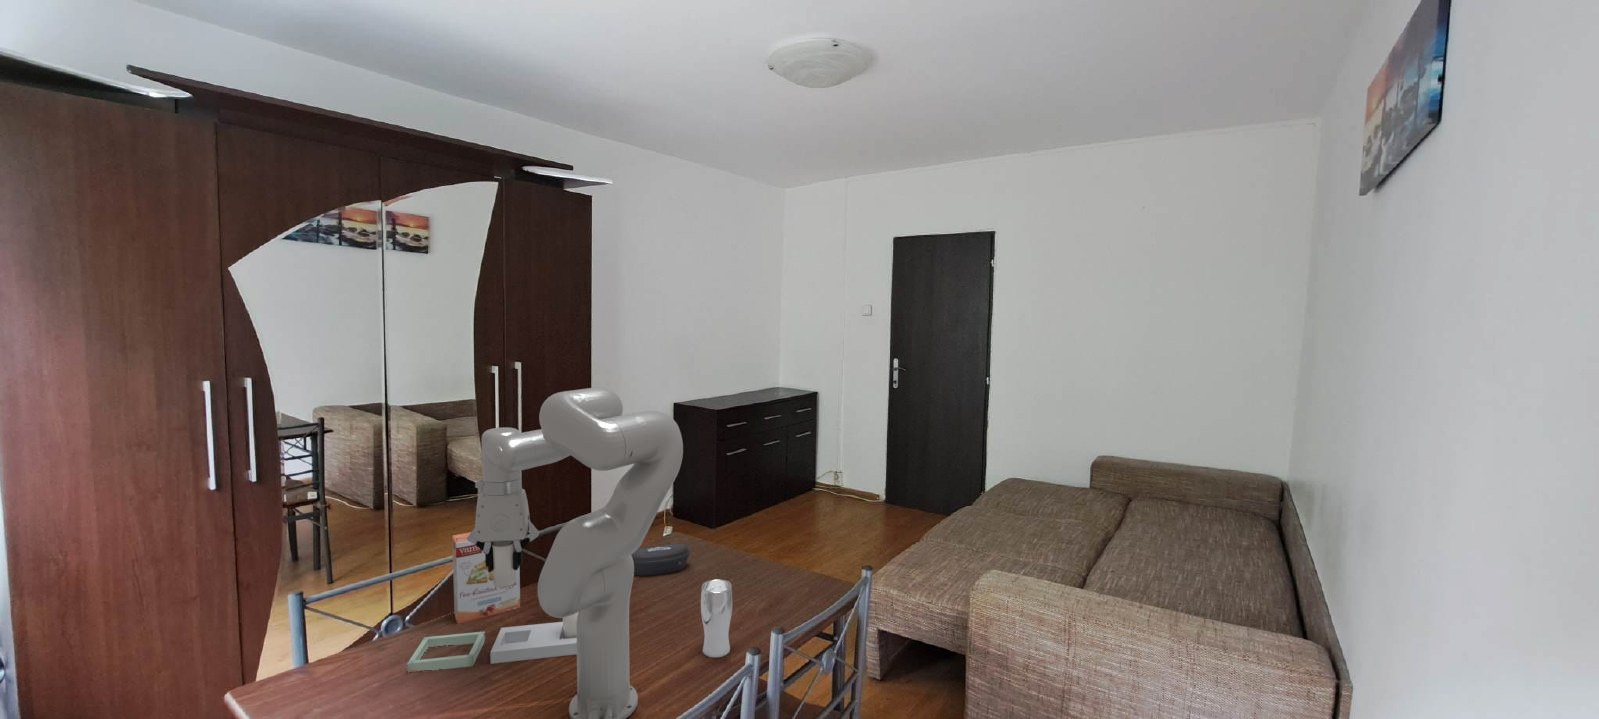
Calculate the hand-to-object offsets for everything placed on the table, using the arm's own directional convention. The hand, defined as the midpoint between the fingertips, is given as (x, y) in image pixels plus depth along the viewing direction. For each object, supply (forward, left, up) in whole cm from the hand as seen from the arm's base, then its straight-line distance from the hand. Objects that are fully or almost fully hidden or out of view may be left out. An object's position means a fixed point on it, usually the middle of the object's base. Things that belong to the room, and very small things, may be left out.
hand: (504, 567), depth 135 cm
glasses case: (+37, -33, -20) cm, 53 cm away
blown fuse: (0, 0, -3) cm, 3 cm away
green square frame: (0, +12, -20) cm, 23 cm away
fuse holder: (0, -8, -20) cm, 21 cm away
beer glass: (-8, -45, -20) cm, 50 cm away
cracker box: (+19, +8, -20) cm, 28 cm away
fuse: (0, -14, -19) cm, 23 cm away
